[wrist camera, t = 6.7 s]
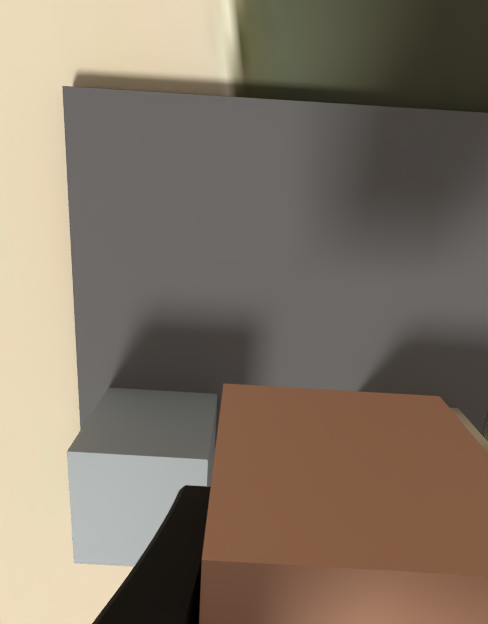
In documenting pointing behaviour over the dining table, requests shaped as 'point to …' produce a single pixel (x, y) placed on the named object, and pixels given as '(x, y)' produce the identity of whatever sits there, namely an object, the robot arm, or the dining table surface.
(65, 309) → the dining table surface
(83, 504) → the slate block
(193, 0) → the dining table surface
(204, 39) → the dining table surface
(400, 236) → the mat
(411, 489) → the terracotta block
